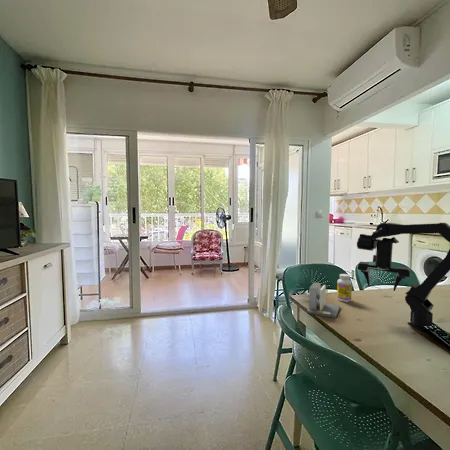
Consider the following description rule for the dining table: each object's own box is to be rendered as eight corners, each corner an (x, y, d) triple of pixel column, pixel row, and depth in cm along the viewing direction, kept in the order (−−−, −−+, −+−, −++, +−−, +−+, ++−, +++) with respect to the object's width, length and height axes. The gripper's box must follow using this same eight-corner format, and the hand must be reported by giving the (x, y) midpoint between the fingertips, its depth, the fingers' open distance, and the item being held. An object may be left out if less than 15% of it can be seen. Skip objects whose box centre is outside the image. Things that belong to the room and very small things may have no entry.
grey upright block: (325, 303, 125) (325, 285, 125) (321, 311, 115) (321, 291, 115) (309, 301, 129) (309, 283, 128) (303, 308, 119) (303, 289, 119)
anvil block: (320, 303, 127) (320, 283, 126) (316, 310, 118) (316, 288, 118) (313, 302, 128) (314, 282, 128) (309, 309, 120) (309, 287, 119)
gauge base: (340, 307, 124) (340, 305, 124) (335, 318, 112) (335, 315, 112) (313, 303, 130) (313, 301, 130) (306, 312, 118) (306, 310, 118)
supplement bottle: (336, 300, 134) (336, 275, 133) (337, 297, 140) (337, 272, 139) (351, 302, 131) (351, 277, 130) (351, 299, 136) (352, 274, 136)
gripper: (410, 252, 114) (407, 288, 115) (361, 247, 124) (359, 280, 125) (411, 256, 104) (407, 295, 106) (358, 250, 115) (356, 286, 116)
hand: (381, 288), depth 113 cm, fingers open, 9 cm apart
